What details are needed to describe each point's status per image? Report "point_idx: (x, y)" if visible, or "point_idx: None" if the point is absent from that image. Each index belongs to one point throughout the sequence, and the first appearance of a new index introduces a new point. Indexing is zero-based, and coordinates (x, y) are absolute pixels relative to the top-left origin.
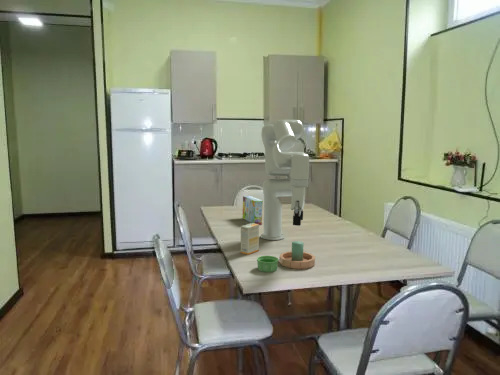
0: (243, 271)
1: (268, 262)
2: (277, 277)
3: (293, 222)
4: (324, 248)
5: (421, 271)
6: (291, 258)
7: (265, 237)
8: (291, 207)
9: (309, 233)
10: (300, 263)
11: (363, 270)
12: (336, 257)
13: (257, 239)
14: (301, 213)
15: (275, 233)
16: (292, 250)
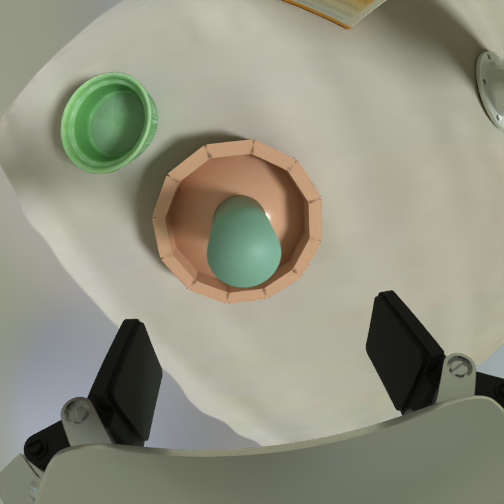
0: (70, 62)
1: (63, 146)
2: (58, 194)
3: (119, 339)
4: (433, 278)
5: None
6: (230, 198)
7: (480, 63)
8: (42, 480)
9: None
10: (162, 257)
11: (243, 400)
12: (347, 332)
13: (361, 3)
14: (393, 389)
15: (501, 99)
16: (219, 216)
